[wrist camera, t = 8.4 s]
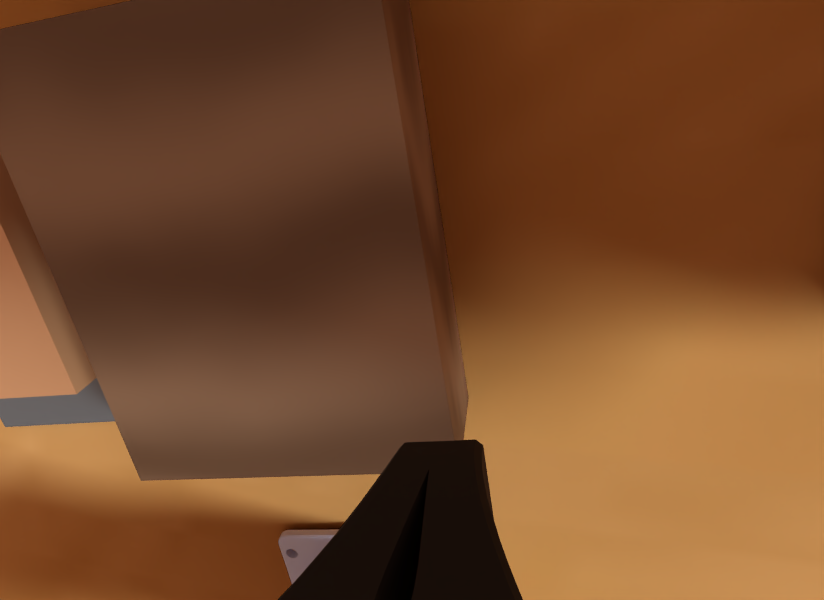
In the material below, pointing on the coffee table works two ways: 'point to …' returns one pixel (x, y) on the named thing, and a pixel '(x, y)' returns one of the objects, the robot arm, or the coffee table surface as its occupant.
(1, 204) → the tan rectangular brick
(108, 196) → the brown flat block
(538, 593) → the coffee table surface
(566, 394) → the coffee table surface
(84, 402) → the mat
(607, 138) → the coffee table surface
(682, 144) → the coffee table surface
